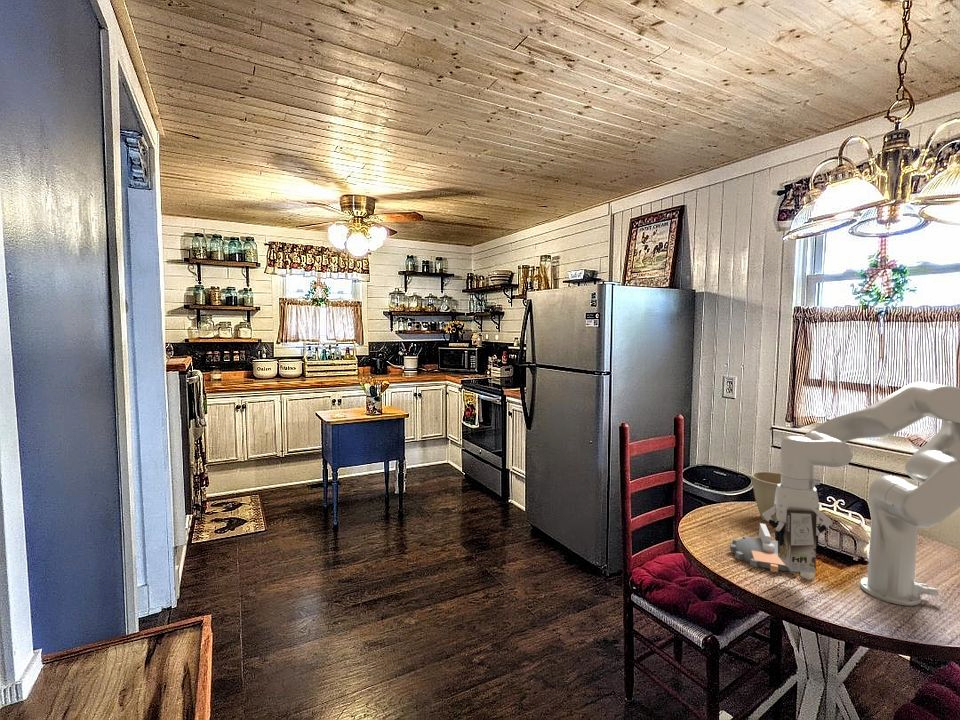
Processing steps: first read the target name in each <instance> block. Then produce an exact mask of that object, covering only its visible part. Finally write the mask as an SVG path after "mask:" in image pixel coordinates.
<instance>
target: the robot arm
mask: <svg viewBox="0 0 960 720" xmlns="http://www.w3.org/2000/svg"><path fill="white" fill-rule="evenodd" d="M926 417H930V418H932V419H933V418H934V419H936V420H937V419H938V420H942V424H941V427H940V430H939V431H938V432H936V433H935V435H934V436H933V437H931V439H930V440H928V441H927V442H926V443H925V444H923V446H921V447H920V448H919V449H917V451H915V452H914V453H913V454H912V455H911V456H910V457H909V458H908V459H907V460H906V462H905V464H904V471H905V472H906V474H907V475H908V476H909V477H910V478H911V479H912V480H914V481H915V482H918V483H920V485H918V484H916V483H914V482H911V481H909V480H907V479H904V478H901V477H899V476H896V475H883V476H882V475H881V476H879V477H877V478H875V479H874V480H873V481H872V482H871V484H870V486H869V490H868V499H869V500H868V501H869V506H870V514H871V515H870V516H871V517H870V518H871V519H870V521H871V522H870V523H871V524H870V535H869V536H870V537H869V551H868V568H867V577H862V578H861V579H860V582H859V585H860V588H861V589H862V590H863V591H864V592H866V593H867V594H869V595H871V597H872V596H873V597H874V598H876V599H878V600H881V601H884V602H887V603H891V604H894V605H895V604H896V605H900V606H909V607H910V606H918V605H920V604H921V603H922V595H924V594H925V595H928V596H931V597H932V596H934V597H938V596H939V591H938V589H937V588H936V587H931V586H930V587H929V586H928V585H927V583H924V582H923V583H922V582H917V581H916V580H915V578H916V577H915V576H916V564H917V562H916V561H917V550H918V549H917V548H918V547H917V546H918V540H919V539H918V538H919V536H918V535H919V533H918V532H919V531H918V528H931V527H935V526H937V525H939V524H941V523H942V522H944V521H945V520H946V519H947V518H949V517H950V516H951V515H952V514H954V513H955V512H956V511H957V510H958V509H960V387H956V386H951V385H947V384H946V385H945V384H939V383H933V382H932V383H931V382H925V381H915V382H910V383H908V384H907V385H903V387H901V388H899V389H897V390H895V391H894V392H892V393H890V394H888V395H887V396H885V397H884V398H882V399H880V400H877V401H876V402H874V403H873V404H871V405H869V406H868V407H865V408H863V409H861V410H856V411H853V412H850V413H846V414H843V415H840V416H836V417H833V418H832V419H828V420H827V421H824V422H823V423H820V424H819V425H817V426H816V427H814V428H813V429H810V430H809V431H808V432H807V433H805V434H804V435H803V436H800V435H788V436H784V437H783V438H782V439H781V440H780V441H781V442H780V474H781V484H777V488H776V493H775V501H774V507H772V508H770V509H769V510H767V511H765V512H764V513H763V517H764V518H765V519H766V520H767V521H768V523H769V525H770V526H771V527H772V528H773V529H774V531H775V532H774V541H775V542H778V543H779V546H782V545H783V532H782V530H781V529H782V527H783V526H784V524H785V523H786V514H787V510H802V511H813V512H815V513H816V514H817V517H816V547H818V546H819V536H820V535H821V534H822V533H823V532H825V531H826V530H827V529H828V528H829V527H830V526H831V525H832V524H833V521H832V519H830V518H829V517H828V516H827V515H826V514H824V513H823V512H822V511H820V502H819V496H818V491H817V488H816V486H817V485H821V480H820V479H817V478H815V477H814V475H815V466H821V467H827V468H841V467H846V466H847V465H848V464H849V463H850V462H851V461H852V460H853V456H854V455H853V454H854V453H853V450H852V448H851V447H850V446H849V445H848V444H847V443H848V442H849V441H853V440H857V439H865V438H866V439H868V438H870V439H871V438H884V437H890V436H893V435H895V434H897V433H898V432H900V431H902V430H904V429H905V428H907V427H909V426H910V425H913V424H914V423H916V422H918V421H920V420H922V419H923V418H926ZM846 442H847V443H846ZM773 514H774V515H775V516H776V517H777V521H776V522H775V521H774V520H773V519H771V517H770V516H771V515H773ZM820 519H821V520H823V521H822V522H821V523H820V521H821V520H820ZM767 521H766V522H767Z"/></svg>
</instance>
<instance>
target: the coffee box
mask: <svg viewBox="0 0 960 720" xmlns="http://www.w3.org/2000/svg"><path fill="white" fill-rule="evenodd" d="M816 517H817V514H816V513H815V512H813V511H802V510H787V514H786V523H785V524H784V526H783V527H782V529H781V530H782V532H783V545H782V546H779V543H778V557H779V558H780V559H781V560H782V562H783V563H784V564H785V565H786V566H787V567H788V568H789V569H790V571H797V573H799V572H800V573H801V572H811V573H816V571H817V567H816V566H817V546H816V527H817V526H816Z"/></svg>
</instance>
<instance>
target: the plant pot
mask: <svg viewBox="0 0 960 720" xmlns="http://www.w3.org/2000/svg"><path fill="white" fill-rule="evenodd" d="M751 479H752V487H753V493H754V498H755V502H756V505H757V509H758V512H759V516H760V518H761V519H762V520H763V521H765V522H767V520H766V519H765V518H764V517H763V513H764V512H765V511H767V510H769V509H770V508H772V507H774V501H775V493H776V488H777V484H781V472H780V473H779V472H774V471H773V472H772V471H757V472H753V473H751ZM770 517H771V519H773V520H774V521H775V522H776V521H777V517H776V516H775V515H774V514H773V515H771V516H770Z"/></svg>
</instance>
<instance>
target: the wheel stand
mask: <svg viewBox="0 0 960 720" xmlns="http://www.w3.org/2000/svg"><path fill="white" fill-rule="evenodd" d="M815 573H816V572H815ZM815 573H811V572H800V573H799V574H800V577H802V578H804V579H806V580H808V581H809V580H812V579H815Z"/></svg>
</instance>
